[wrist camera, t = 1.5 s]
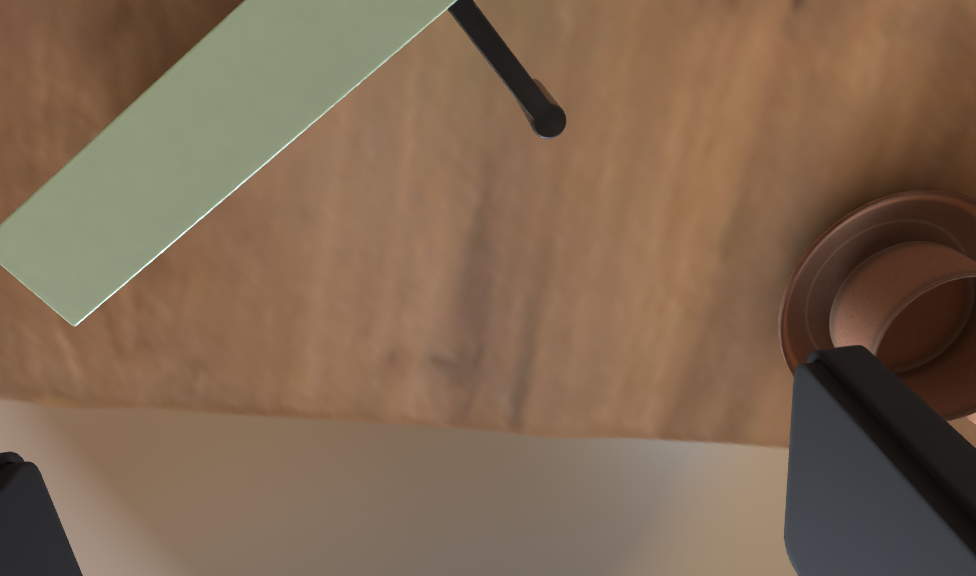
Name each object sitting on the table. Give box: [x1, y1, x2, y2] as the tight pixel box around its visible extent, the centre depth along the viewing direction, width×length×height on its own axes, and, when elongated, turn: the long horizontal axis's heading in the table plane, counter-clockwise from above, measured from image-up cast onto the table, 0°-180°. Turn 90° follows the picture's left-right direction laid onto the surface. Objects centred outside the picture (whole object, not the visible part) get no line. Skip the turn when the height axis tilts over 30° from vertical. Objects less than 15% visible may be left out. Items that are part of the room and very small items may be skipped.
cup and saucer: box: [778, 190, 976, 423], centre depth 37 cm, size 12×12×6 cm
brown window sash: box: [448, 0, 566, 139], centre depth 28 cm, size 9×7×8 cm
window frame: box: [0, 0, 457, 326], centre depth 28 cm, size 20×4×12 cm, turn 128°
